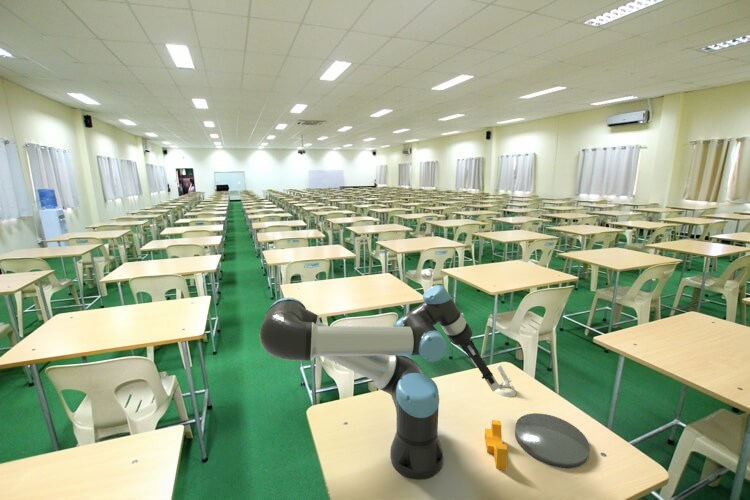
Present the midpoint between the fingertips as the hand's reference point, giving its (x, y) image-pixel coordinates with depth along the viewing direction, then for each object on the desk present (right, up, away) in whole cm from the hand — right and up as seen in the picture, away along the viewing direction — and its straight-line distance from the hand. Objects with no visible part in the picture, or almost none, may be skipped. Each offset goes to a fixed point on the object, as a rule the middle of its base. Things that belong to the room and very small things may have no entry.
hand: (487, 376), depth 114 cm
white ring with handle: (+13, -12, +17) cm, 25 cm away
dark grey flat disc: (+16, -17, -9) cm, 25 cm away
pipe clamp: (-2, -18, -13) cm, 22 cm away
